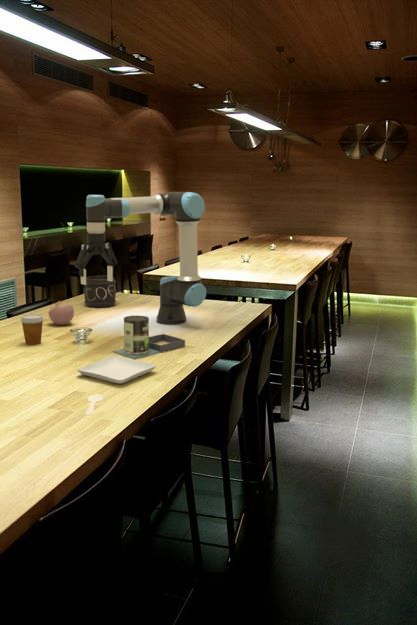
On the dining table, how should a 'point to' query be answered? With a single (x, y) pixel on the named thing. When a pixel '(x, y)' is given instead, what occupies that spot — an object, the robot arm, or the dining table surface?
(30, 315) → the disposable coffee cup
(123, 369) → the salad plate
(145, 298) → the dining table surface
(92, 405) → the spoon
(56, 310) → the pink apple
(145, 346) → the coffee can
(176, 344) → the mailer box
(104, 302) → the coffee canister
